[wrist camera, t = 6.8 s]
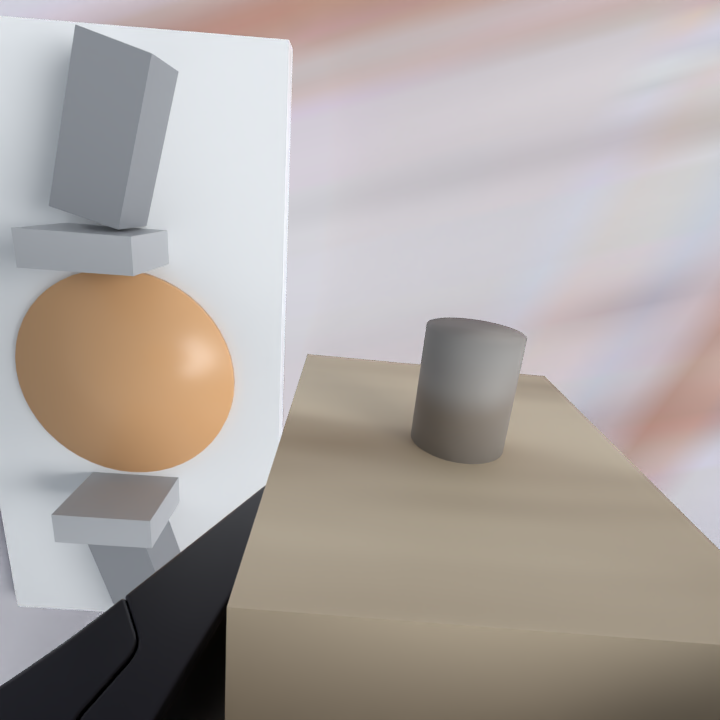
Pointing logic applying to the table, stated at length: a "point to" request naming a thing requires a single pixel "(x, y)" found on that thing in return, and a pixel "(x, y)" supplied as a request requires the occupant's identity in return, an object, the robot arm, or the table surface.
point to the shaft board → (136, 295)
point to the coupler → (465, 555)
